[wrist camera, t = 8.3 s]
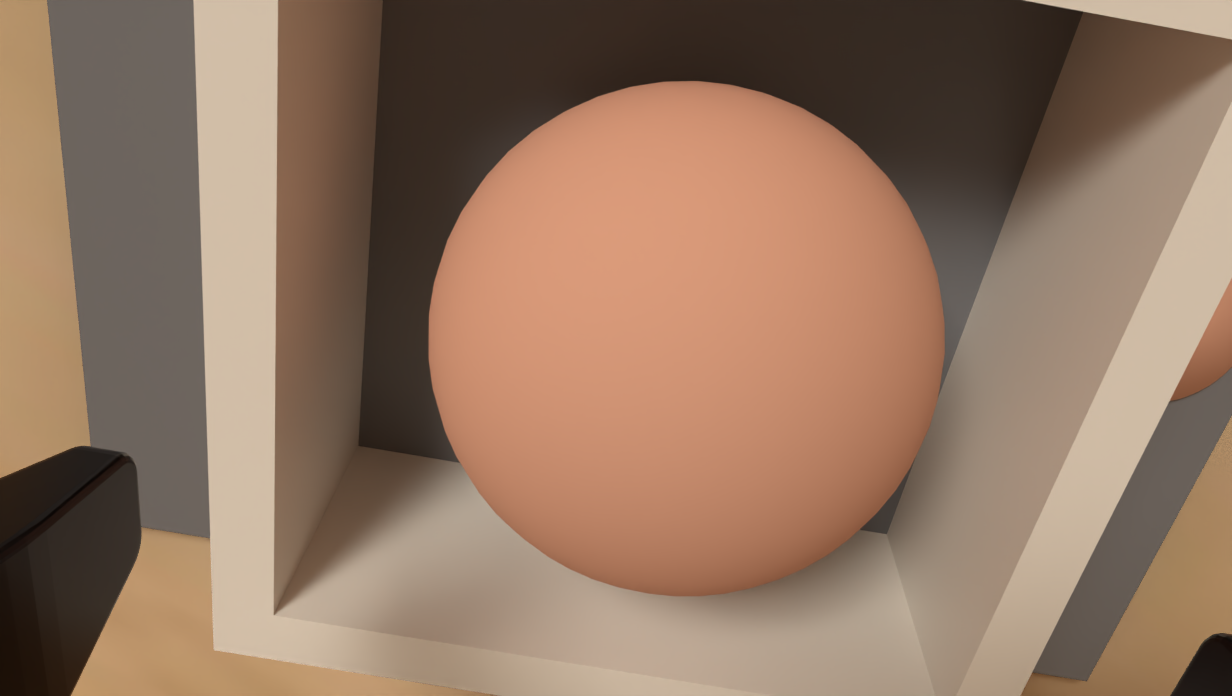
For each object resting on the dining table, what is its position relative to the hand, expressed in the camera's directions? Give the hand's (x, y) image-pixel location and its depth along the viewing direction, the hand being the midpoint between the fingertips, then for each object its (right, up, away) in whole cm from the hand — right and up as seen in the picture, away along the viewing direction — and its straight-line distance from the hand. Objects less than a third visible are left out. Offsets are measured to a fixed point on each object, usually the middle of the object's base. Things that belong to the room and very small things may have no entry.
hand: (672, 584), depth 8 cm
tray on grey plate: (0, +4, +7) cm, 8 cm away
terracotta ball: (0, +2, +4) cm, 4 cm away
